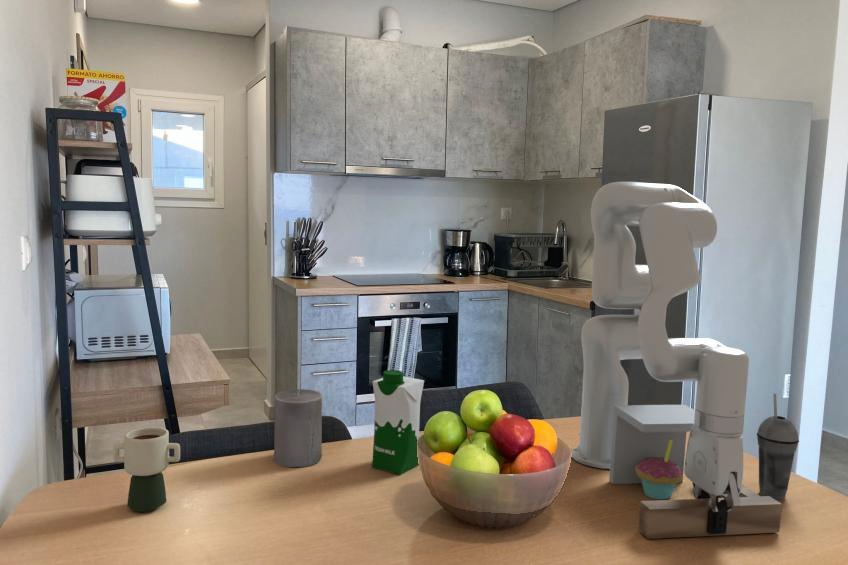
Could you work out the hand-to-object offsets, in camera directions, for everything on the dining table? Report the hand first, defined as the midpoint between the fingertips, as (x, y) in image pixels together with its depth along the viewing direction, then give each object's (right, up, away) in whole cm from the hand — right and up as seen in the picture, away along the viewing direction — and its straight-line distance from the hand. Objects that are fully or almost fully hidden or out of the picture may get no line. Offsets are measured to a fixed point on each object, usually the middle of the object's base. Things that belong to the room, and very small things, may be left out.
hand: (709, 526), depth 116 cm
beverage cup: (+19, 0, +17) cm, 26 cm away
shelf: (-3, +1, +17) cm, 17 cm away
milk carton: (-54, +3, +25) cm, 60 cm away
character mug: (-96, +2, +2) cm, 96 cm away
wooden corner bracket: (-2, 0, +9) cm, 9 cm away
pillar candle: (-74, +4, +27) cm, 79 cm away
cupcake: (-4, 0, +16) cm, 16 cm away
